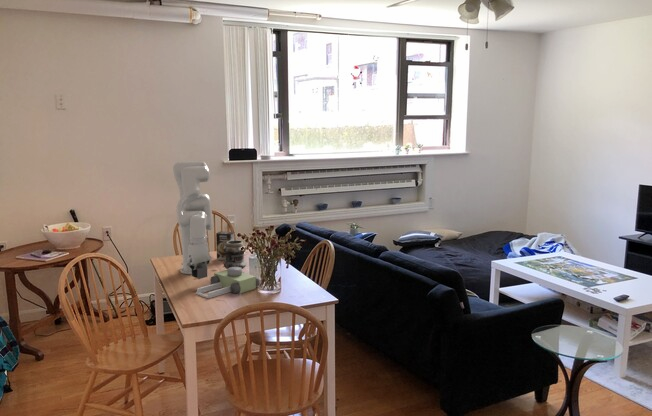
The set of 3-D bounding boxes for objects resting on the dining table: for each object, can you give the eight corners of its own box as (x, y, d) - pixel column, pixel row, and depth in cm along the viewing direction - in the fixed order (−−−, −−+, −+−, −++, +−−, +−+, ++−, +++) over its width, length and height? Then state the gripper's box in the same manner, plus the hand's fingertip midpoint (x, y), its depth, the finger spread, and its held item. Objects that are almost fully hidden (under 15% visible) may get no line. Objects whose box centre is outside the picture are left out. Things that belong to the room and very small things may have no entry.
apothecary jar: (241, 278, 268) (241, 244, 265) (220, 276, 271) (219, 243, 268) (249, 271, 280) (249, 239, 277) (229, 270, 282) (228, 238, 279)
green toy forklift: (189, 291, 248) (188, 273, 246) (232, 278, 267) (232, 262, 266) (215, 301, 234) (215, 282, 233) (259, 287, 254) (259, 269, 252)
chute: (191, 276, 255) (191, 263, 253) (200, 273, 259) (199, 261, 257) (198, 279, 251) (198, 266, 250) (207, 276, 255) (207, 264, 253)
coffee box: (216, 259, 304) (215, 233, 301) (220, 257, 310) (219, 231, 307) (231, 260, 302) (230, 233, 300) (234, 257, 309) (234, 231, 306)
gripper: (208, 235, 259) (209, 269, 263) (178, 242, 247) (180, 277, 251) (217, 238, 254) (218, 273, 258) (187, 245, 242) (189, 281, 246)
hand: (199, 274), depth 255 cm, fingers closed on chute, 5 cm apart
